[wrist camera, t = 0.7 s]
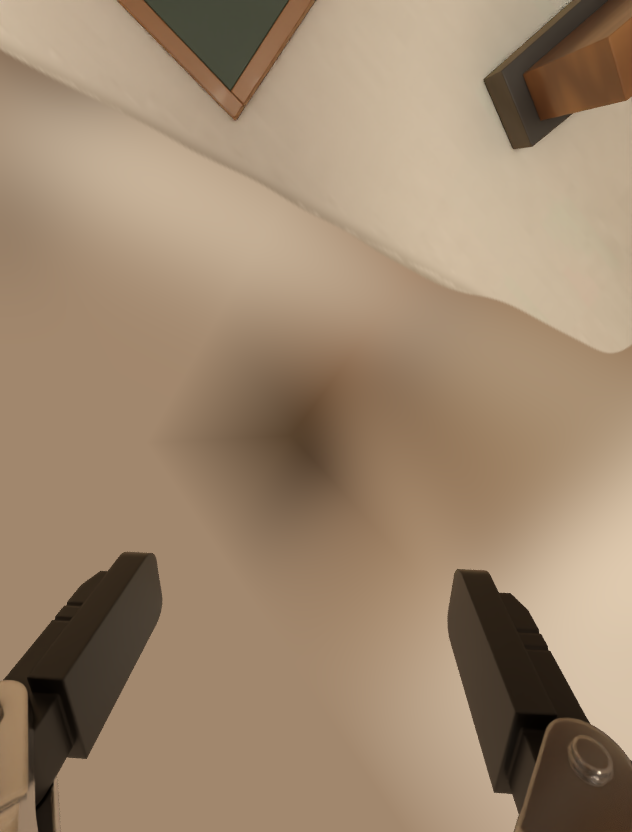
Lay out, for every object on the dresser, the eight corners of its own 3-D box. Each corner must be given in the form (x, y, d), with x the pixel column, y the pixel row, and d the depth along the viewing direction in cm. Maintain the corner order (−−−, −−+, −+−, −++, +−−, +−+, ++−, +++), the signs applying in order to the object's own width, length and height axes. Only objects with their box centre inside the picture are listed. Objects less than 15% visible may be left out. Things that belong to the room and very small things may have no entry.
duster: (483, 79, 27) (580, 31, 18) (612, -36, 25) (792, -152, 16) (513, 149, 29) (612, 135, 21) (634, 50, 27) (803, -13, 18)
